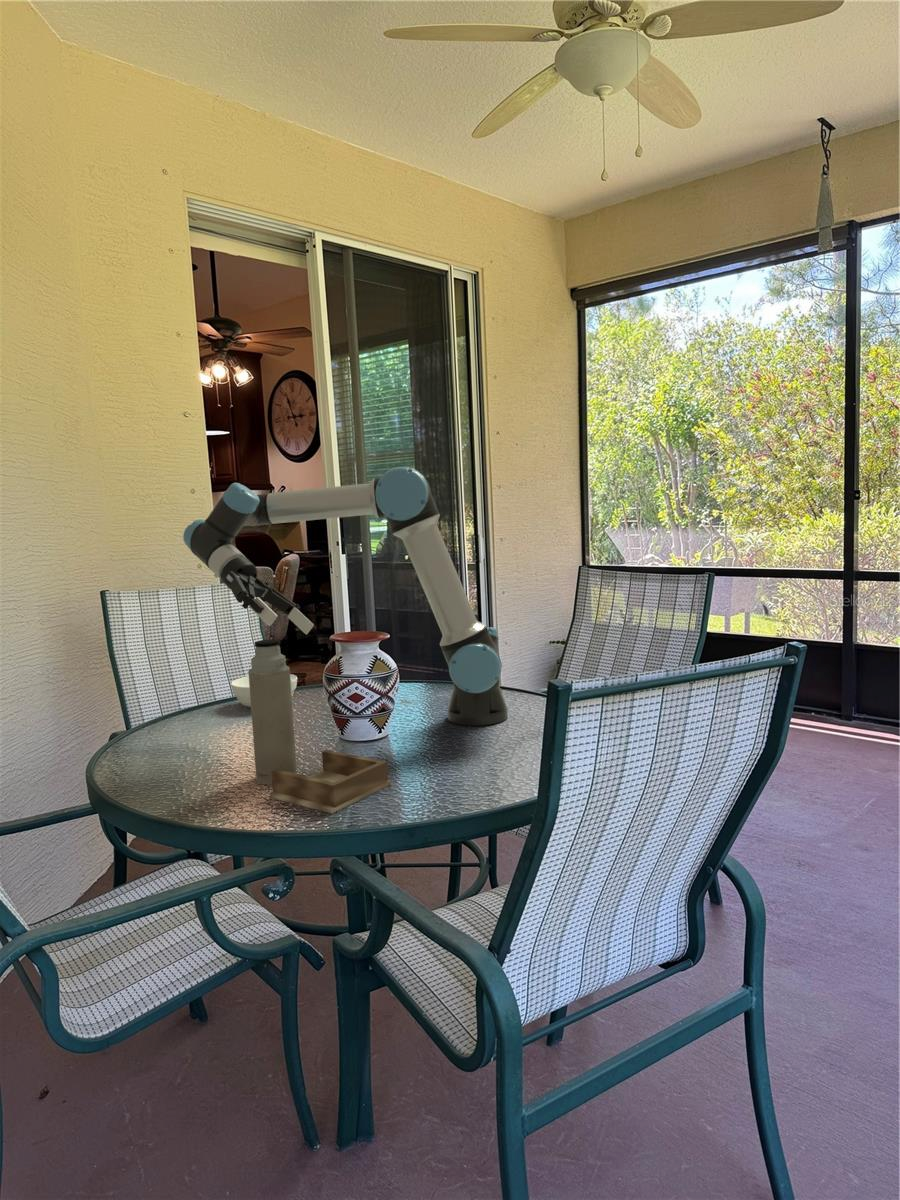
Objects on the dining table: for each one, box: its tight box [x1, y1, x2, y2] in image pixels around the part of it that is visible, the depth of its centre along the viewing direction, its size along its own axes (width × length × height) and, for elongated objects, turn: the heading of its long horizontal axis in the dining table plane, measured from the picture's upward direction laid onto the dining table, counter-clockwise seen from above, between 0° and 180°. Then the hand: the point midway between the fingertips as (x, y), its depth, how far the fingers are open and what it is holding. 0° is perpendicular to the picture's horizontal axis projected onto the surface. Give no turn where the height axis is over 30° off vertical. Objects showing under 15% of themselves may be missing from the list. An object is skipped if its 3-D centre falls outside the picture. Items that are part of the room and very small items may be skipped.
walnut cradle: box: [269, 749, 391, 815], centre depth 141 cm, size 16×16×5 cm
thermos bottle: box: [248, 638, 298, 786], centre depth 149 cm, size 8×8×28 cm
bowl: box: [230, 673, 298, 708], centre depth 212 cm, size 18×18×7 cm
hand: (292, 625), depth 160 cm, fingers open, 13 cm apart
